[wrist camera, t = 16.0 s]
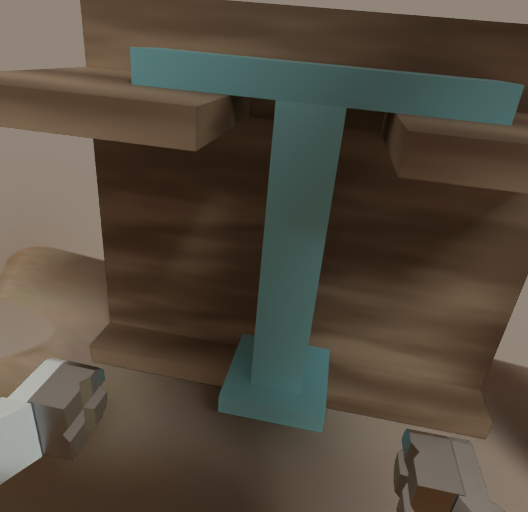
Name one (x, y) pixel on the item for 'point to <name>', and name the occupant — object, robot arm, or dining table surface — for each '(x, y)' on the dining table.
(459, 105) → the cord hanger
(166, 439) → the dining table surface
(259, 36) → the wall shelf
